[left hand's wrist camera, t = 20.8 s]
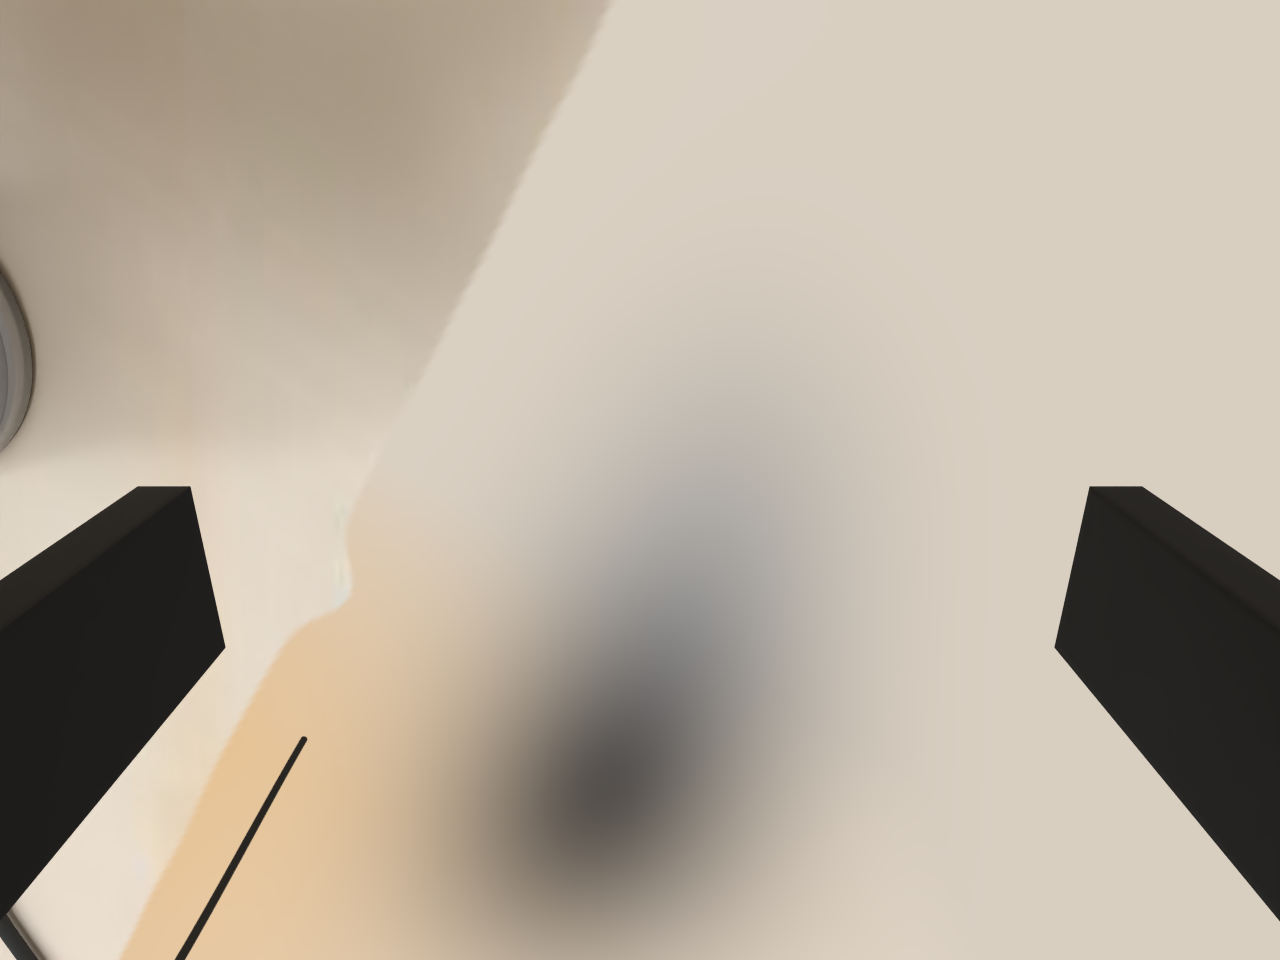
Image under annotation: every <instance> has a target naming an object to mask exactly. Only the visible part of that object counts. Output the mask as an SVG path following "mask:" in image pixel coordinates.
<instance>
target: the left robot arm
mask: <svg viewBox="0 0 1280 960" xmlns="http://www.w3.org/2000/svg"><path fill="white" fill-rule="evenodd" d="M31 386H32V357H31V349H30V343H29V338H28V334H27V330H26V327H25V323H24V320H23V317H22V314H21V312H20V309H19V307H18V304H17V302H16V300H15V298H14V296H13V294H12V291H11V289H10V287H9V286H8V284H7V282H6V280H5V279H4V277H3V275H2V274H1V272H0V451H1V450H2V449H3V448H4V447H5V446H6V445H7V444H8V443H9V441H10V440H11V439H12V437H13V436H14V435H15V433H16V431H17V430H18V428H19V426H20V424H21V422H22V420H23V418H24V415H25V413H26V410H27V406H28V403H29V399H30V394H31ZM224 649H225V643H224V638H223V634H222V629H221V625H220V620H219V615H218V611H217V606H216V602H215V597H214V593H213V588H212V583H211V579H210V574H209V570H208V565H207V560H206V556H205V551H204V547H203V542H202V538H201V533H200V528H199V524H198V519H197V515H196V510H195V506H194V501H193V496H192V492H191V487H190V486H138V487H136V488H135V489H133V490H132V491H130V492H129V493H128V494H126V495H125V496H123V497H122V498H120V499H119V500H117V501H116V502H114V503H113V504H111V505H110V506H108V507H107V508H106V509H104V510H103V511H101V512H100V513H98V514H97V515H95V516H94V517H92V518H91V519H89V520H88V521H87V522H85V523H84V524H82V525H81V526H79V527H78V528H76V529H75V530H73V531H72V532H70V533H69V534H67V535H66V536H65V537H63V538H62V539H60V540H59V541H57V542H56V543H54V544H53V545H51V546H50V547H48V548H47V549H45V550H44V551H43V552H41V553H40V554H38V555H37V556H35V557H34V558H32V559H31V560H29V561H28V562H26V563H25V564H23V565H22V566H21V567H19V568H18V569H16V570H15V571H13V572H12V573H10V574H9V575H7V576H6V577H4V578H3V579H1V580H0V937H1V939H2V940H3V942H4V943H5V944H6V946H7V947H8V948H9V950H10V951H11V953H12V954H13V955H14V957H15V958H16V959H17V960H38V959H37V957H36V956H35V955H34V953H33V952H32V950H31V949H30V948H29V946H28V945H27V943H26V942H25V941H24V939H23V938H22V936H21V935H20V934H19V932H18V931H17V929H16V928H15V926H14V925H13V923H12V922H11V920H10V919H9V917H8V916H7V914H6V913H7V912H8V911H9V910H10V909H11V907H12V906H13V905H14V904H15V903H16V901H17V900H18V899H19V898H20V896H21V895H22V894H23V893H24V892H25V890H26V889H27V888H28V887H29V886H30V884H31V883H32V882H33V881H34V879H35V878H36V877H37V876H38V875H39V873H40V872H41V871H42V870H43V869H44V867H45V866H46V865H47V864H48V862H49V861H50V860H51V859H52V858H53V856H54V855H55V854H56V853H57V852H58V850H59V849H60V848H61V847H62V845H63V844H64V843H65V842H66V841H67V839H68V838H69V837H70V836H71V835H72V833H73V832H74V831H75V830H76V828H77V827H78V826H79V825H80V824H81V822H82V821H83V820H84V819H85V818H86V816H87V815H88V814H89V813H90V811H91V810H92V809H93V808H94V807H95V805H96V804H97V803H98V802H99V801H100V799H101V798H102V797H103V796H104V794H105V793H106V792H107V791H108V790H109V788H110V787H111V786H112V785H113V784H114V782H115V781H116V780H117V779H118V777H119V776H120V775H121V774H122V773H123V771H124V770H125V769H126V768H127V767H128V765H129V764H130V763H131V762H132V760H133V759H134V758H135V757H136V756H137V754H138V753H139V752H140V751H141V750H142V748H143V747H144V746H145V745H146V743H147V742H148V741H149V740H150V739H151V737H152V736H153V735H154V734H155V732H156V731H157V730H158V729H159V728H160V726H161V725H162V724H163V723H164V722H165V720H166V719H167V718H168V717H169V715H170V714H171V713H172V712H173V711H174V709H175V708H176V707H177V706H178V705H179V703H180V702H181V701H182V700H183V698H184V697H185V696H186V695H187V694H188V692H189V691H190V690H191V689H192V688H193V686H194V685H195V684H196V683H197V681H198V680H199V679H200V678H201V677H202V675H203V674H204V673H205V672H206V671H207V669H208V668H209V667H210V666H211V664H212V663H213V662H214V661H215V660H216V658H217V657H218V656H219V655H220V654H221V652H222V651H223V650H224ZM1055 649H1056V650H1057V651H1058V652H1059V654H1060V655H1061V656H1062V657H1063V658H1064V660H1065V661H1066V662H1067V663H1068V664H1069V666H1070V667H1071V668H1072V669H1073V671H1074V672H1075V673H1076V674H1077V675H1078V677H1079V678H1080V679H1081V680H1082V681H1083V683H1084V684H1085V685H1086V686H1087V688H1088V689H1089V690H1090V691H1091V692H1092V694H1093V695H1094V696H1095V697H1096V698H1097V700H1098V701H1099V702H1100V703H1101V705H1102V706H1103V707H1104V708H1105V709H1106V711H1107V712H1108V713H1109V714H1110V715H1111V717H1112V718H1113V719H1114V720H1115V722H1116V723H1117V724H1118V725H1119V726H1120V728H1121V729H1122V730H1123V731H1124V732H1125V734H1126V735H1127V736H1128V737H1129V739H1130V740H1131V741H1132V742H1133V743H1134V745H1135V746H1136V747H1137V748H1138V750H1139V751H1140V752H1141V753H1142V754H1143V755H1144V757H1145V758H1146V759H1147V760H1148V762H1149V763H1150V764H1151V765H1152V766H1153V768H1154V769H1155V770H1156V771H1157V773H1158V774H1159V775H1160V776H1161V777H1162V779H1163V780H1164V781H1165V782H1166V784H1167V785H1168V786H1169V787H1170V788H1171V790H1172V791H1173V792H1174V793H1175V794H1176V796H1177V797H1178V798H1179V799H1180V801H1181V802H1182V803H1183V804H1184V805H1185V807H1186V808H1187V809H1188V810H1189V811H1190V813H1191V814H1192V815H1193V816H1194V818H1195V819H1196V820H1197V821H1198V822H1199V824H1200V825H1201V826H1202V827H1203V828H1204V830H1205V831H1206V832H1207V833H1208V835H1209V836H1210V837H1211V838H1212V839H1213V841H1214V842H1215V843H1216V844H1217V845H1218V847H1219V848H1220V849H1221V850H1222V852H1223V853H1224V854H1225V855H1226V856H1227V858H1228V859H1229V860H1230V861H1231V862H1232V864H1233V865H1234V866H1235V867H1236V868H1237V870H1238V871H1239V872H1240V873H1241V875H1242V876H1243V877H1244V878H1245V879H1246V881H1247V882H1248V883H1249V884H1250V885H1251V887H1252V888H1253V889H1254V890H1255V892H1256V893H1257V894H1258V895H1259V896H1260V898H1261V899H1262V900H1263V901H1264V903H1265V904H1266V905H1267V906H1268V907H1269V909H1270V910H1271V911H1272V912H1273V913H1274V915H1275V916H1276V917H1277V918H1278V920H1279V921H1280V580H1279V579H1277V578H1276V577H1274V576H1273V575H1271V574H1270V573H1268V572H1267V571H1265V570H1264V569H1262V568H1261V567H1259V566H1258V565H1257V564H1255V563H1254V562H1252V561H1251V560H1249V559H1248V558H1246V557H1245V556H1243V555H1242V554H1240V553H1239V552H1237V551H1236V550H1235V549H1233V548H1232V547H1230V546H1229V545H1227V544H1226V543H1224V542H1223V541H1221V540H1220V539H1218V538H1217V537H1215V536H1214V535H1213V534H1211V533H1210V532H1208V531H1207V530H1205V529H1204V528H1202V527H1201V526H1199V525H1198V524H1196V523H1195V522H1193V521H1192V520H1191V519H1189V518H1188V517H1186V516H1185V515H1183V514H1182V513H1180V512H1179V511H1177V510H1176V509H1174V508H1173V507H1171V506H1170V505H1169V504H1167V503H1166V502H1164V501H1163V500H1161V499H1160V498H1158V497H1157V496H1155V495H1154V494H1152V493H1151V492H1149V491H1148V490H1147V489H1145V488H1144V487H1142V486H1130V487H1129V486H1097V487H1096V486H1093V487H1092V486H1090V488H1089V492H1088V496H1087V501H1086V506H1085V510H1084V515H1083V519H1082V524H1081V528H1080V533H1079V538H1078V542H1077V547H1076V551H1075V556H1074V561H1073V565H1072V570H1071V574H1070V579H1069V583H1068V588H1067V593H1066V597H1065V602H1064V606H1063V611H1062V616H1061V620H1060V625H1059V629H1058V634H1057V638H1056V643H1055ZM306 742H307V737H305V736H302V737H301V739H300V740H299V742H298V744H297V745H296V747H295V749H294V751H293V752H292V754H291V756H290V757H289V759H288V761H287V763H286V764H285V766H284V768H283V770H282V771H281V773H280V775H279V777H278V778H277V780H276V782H275V784H274V786H273V787H272V789H271V791H270V793H269V795H268V796H267V798H266V800H265V801H264V803H263V805H262V807H261V809H260V811H259V812H258V814H257V816H256V818H255V819H254V821H253V823H252V825H251V827H250V828H249V830H248V832H247V834H246V836H245V837H244V839H243V841H242V843H241V844H240V846H239V848H238V850H237V852H236V854H235V855H234V857H233V859H232V861H231V862H230V864H229V866H228V868H227V869H226V871H225V873H224V875H223V877H222V878H221V880H220V882H219V884H218V885H217V887H216V889H215V891H214V893H213V894H212V896H211V898H210V900H209V901H208V903H207V905H206V907H205V908H204V910H203V912H202V914H201V915H200V917H199V919H198V921H197V922H196V924H195V926H194V927H193V929H192V931H191V933H190V934H189V936H188V938H187V940H186V941H185V943H184V945H183V946H182V948H181V950H180V951H179V953H178V955H177V956H176V958H175V960H185V959H186V957H187V956H188V954H189V952H190V951H191V949H192V947H193V945H194V944H195V942H196V940H197V938H198V936H199V935H200V933H201V931H202V930H203V928H204V926H205V924H206V922H207V921H208V919H209V917H210V915H211V914H212V912H213V910H214V908H215V906H216V905H217V903H218V901H219V899H220V897H221V896H222V894H223V892H224V890H225V888H226V887H227V885H228V883H229V881H230V879H231V877H232V876H233V874H234V872H235V870H236V868H237V867H238V865H239V863H240V861H241V859H242V857H243V856H244V854H245V852H246V850H247V848H248V846H249V845H250V843H251V841H252V839H253V837H254V835H255V833H256V832H257V830H258V828H259V826H260V824H261V823H262V821H263V819H264V817H265V815H266V813H267V811H268V810H269V808H270V806H271V804H272V802H273V801H274V799H275V797H276V795H277V793H278V792H279V790H280V788H281V786H282V784H283V782H284V781H285V779H286V777H287V775H288V774H289V772H290V770H291V768H292V766H293V765H294V763H295V761H296V759H297V758H298V756H299V754H300V752H301V751H302V749H303V747H304V745H305V743H306Z"/></svg>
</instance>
